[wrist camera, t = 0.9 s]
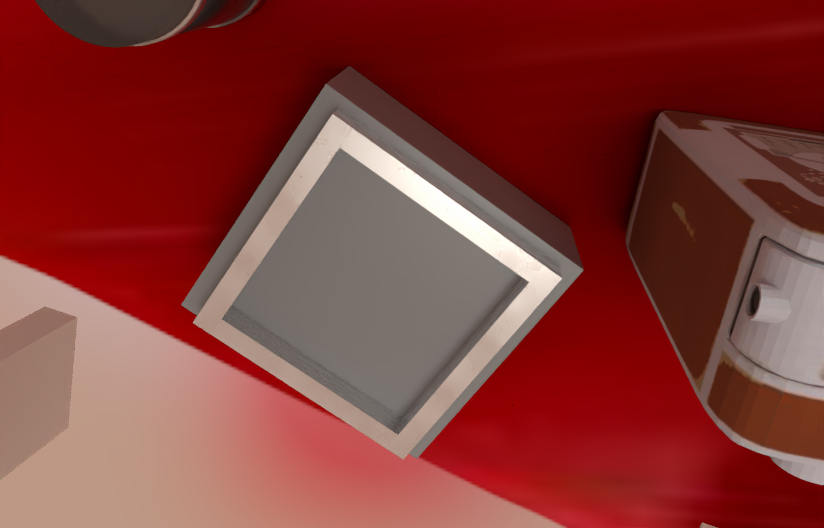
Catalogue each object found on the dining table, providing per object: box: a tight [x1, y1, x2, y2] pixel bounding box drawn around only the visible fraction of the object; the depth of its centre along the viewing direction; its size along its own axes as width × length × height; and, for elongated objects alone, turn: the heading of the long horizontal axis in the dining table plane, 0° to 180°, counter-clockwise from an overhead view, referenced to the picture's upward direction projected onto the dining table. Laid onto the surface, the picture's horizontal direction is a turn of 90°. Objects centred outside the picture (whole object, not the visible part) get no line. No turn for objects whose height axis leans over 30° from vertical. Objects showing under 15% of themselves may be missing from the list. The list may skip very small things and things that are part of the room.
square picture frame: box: [193, 108, 562, 459], centre depth 35 cm, size 12×12×2 cm
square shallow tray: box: [181, 66, 584, 458], centre depth 39 cm, size 14×13×6 cm
